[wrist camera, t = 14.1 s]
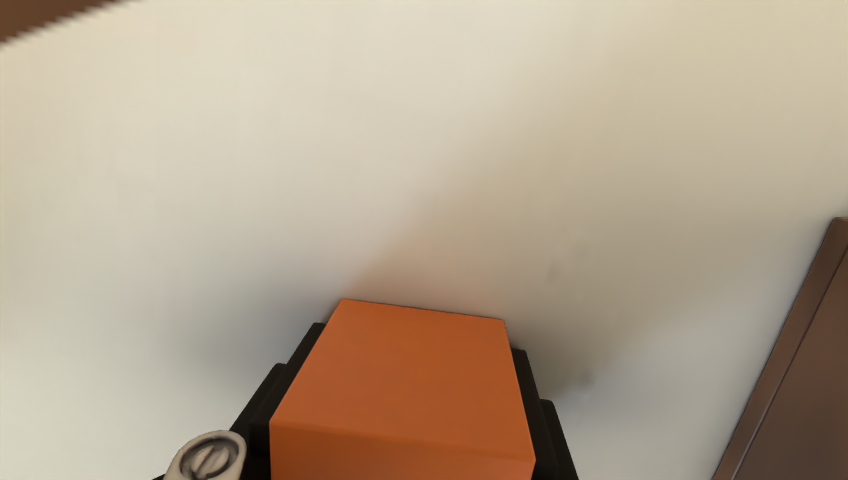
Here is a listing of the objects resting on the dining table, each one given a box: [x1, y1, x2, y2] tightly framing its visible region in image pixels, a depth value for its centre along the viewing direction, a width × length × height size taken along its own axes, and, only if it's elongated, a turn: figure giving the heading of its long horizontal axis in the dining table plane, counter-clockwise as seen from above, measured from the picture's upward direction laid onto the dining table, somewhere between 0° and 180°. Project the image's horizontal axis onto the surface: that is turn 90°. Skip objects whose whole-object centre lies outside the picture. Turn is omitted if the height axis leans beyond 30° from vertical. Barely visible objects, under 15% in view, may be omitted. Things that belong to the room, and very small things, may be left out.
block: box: [269, 299, 536, 480], centre depth 9 cm, size 5×5×5 cm
